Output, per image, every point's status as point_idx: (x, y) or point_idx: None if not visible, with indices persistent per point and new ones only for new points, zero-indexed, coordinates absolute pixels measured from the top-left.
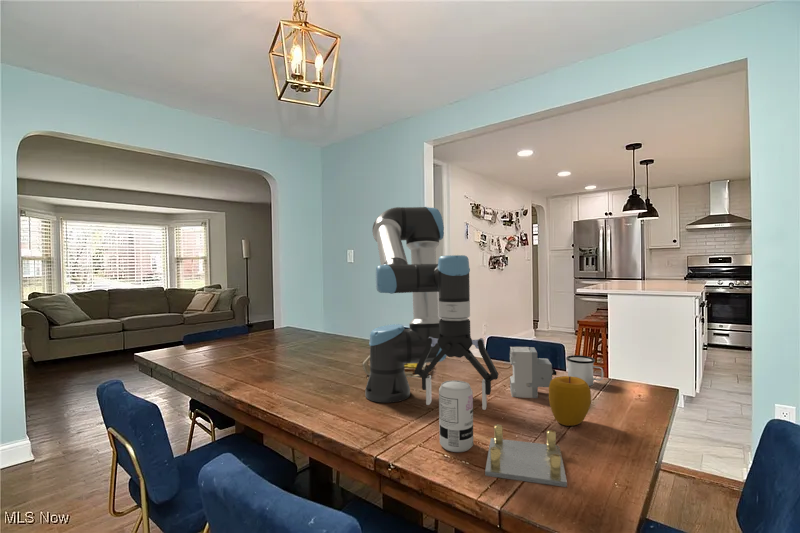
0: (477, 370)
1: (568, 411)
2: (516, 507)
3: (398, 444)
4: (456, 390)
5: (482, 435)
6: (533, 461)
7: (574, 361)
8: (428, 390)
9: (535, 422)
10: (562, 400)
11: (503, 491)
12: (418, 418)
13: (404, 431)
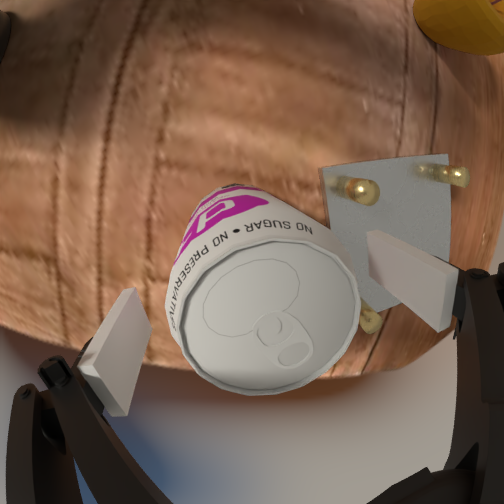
0: (459, 375)
1: (467, 50)
2: (380, 361)
3: (106, 296)
4: (302, 382)
5: (285, 135)
6: (414, 244)
7: None
8: (138, 369)
9: (380, 23)
10: (477, 42)
11: (365, 342)
12: (65, 124)
13: (74, 225)
